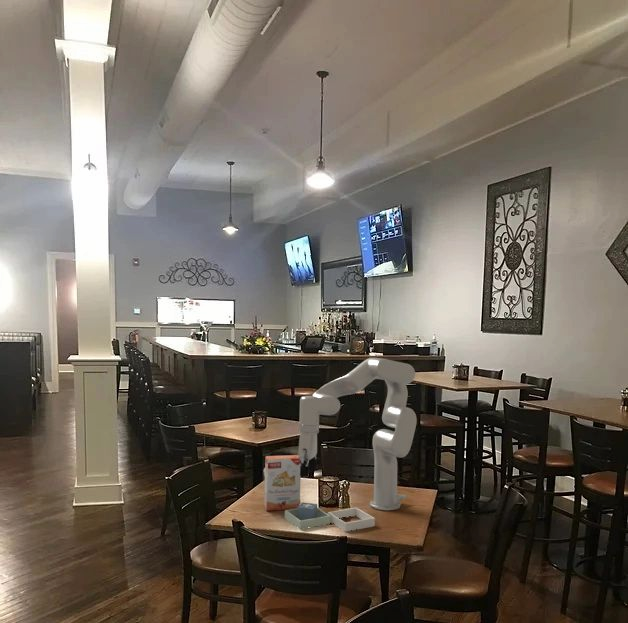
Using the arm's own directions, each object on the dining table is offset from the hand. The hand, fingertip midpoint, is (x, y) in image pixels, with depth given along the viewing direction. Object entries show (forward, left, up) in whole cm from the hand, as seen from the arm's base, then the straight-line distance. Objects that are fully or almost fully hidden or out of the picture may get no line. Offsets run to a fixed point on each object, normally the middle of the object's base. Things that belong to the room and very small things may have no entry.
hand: (308, 473), depth 212 cm
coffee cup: (-1, -33, -18) cm, 37 cm away
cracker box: (+2, -18, -18) cm, 26 cm away
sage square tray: (0, 0, -18) cm, 18 cm away
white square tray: (-14, +9, -18) cm, 25 cm away
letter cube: (0, 0, -18) cm, 18 cm away
